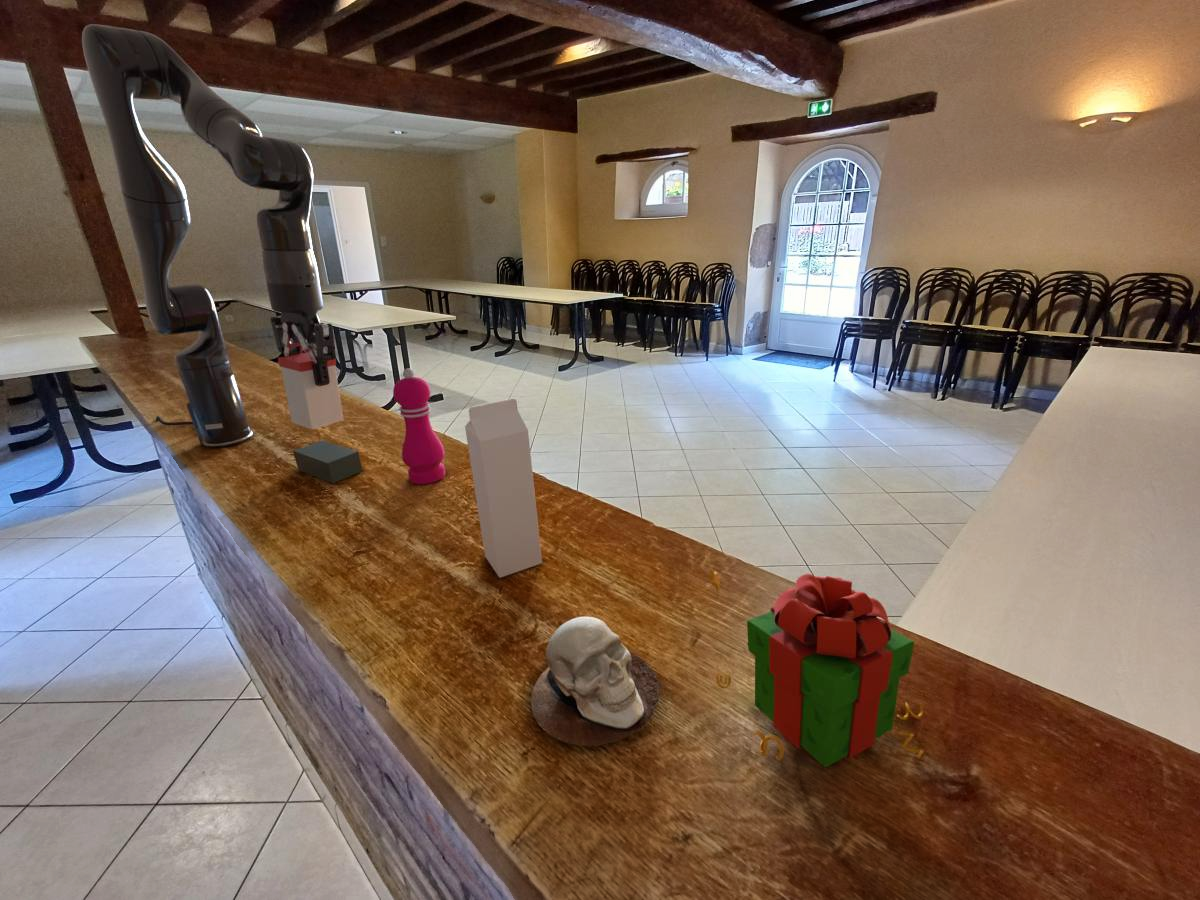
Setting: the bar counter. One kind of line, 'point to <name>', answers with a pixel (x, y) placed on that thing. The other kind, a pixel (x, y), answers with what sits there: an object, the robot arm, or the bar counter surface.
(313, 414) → the container
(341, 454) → the block
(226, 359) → the robot arm
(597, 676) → the skull
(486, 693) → the bar counter surface
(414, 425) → the pepper mill
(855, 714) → the gift wrap
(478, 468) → the milk
